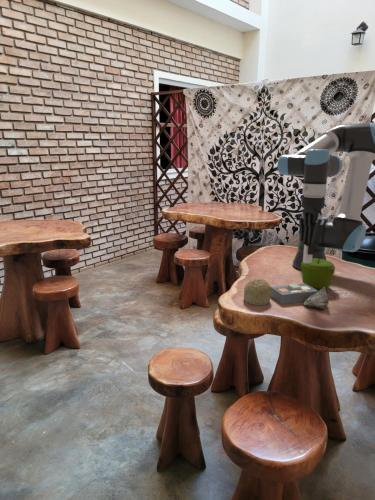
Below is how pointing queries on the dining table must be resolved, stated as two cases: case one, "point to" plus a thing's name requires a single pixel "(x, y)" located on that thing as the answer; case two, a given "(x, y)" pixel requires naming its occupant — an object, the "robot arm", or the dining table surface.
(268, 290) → the decorative object
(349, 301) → the dining table surface
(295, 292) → the keypad
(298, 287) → the key
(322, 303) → the rock sample
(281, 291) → the key
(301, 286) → the key
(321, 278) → the apple
